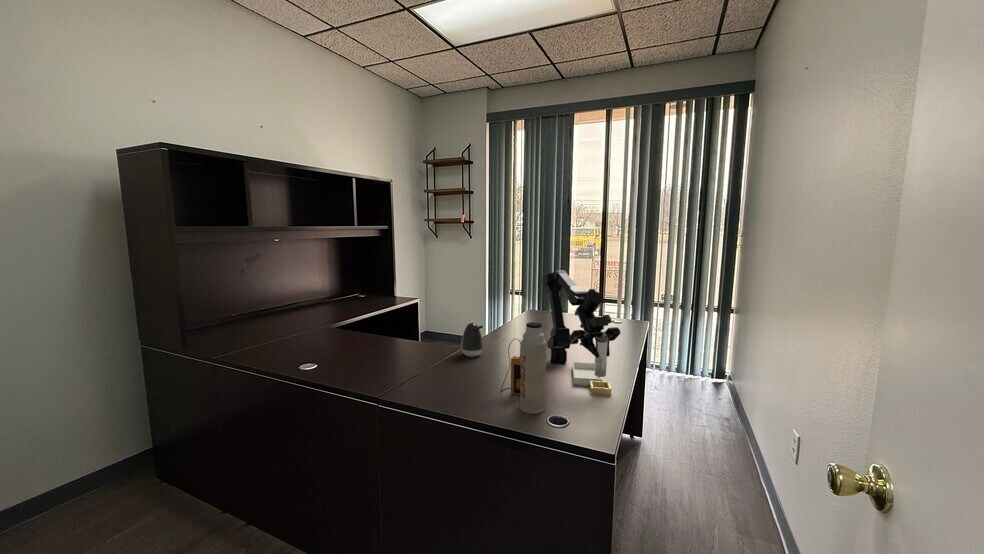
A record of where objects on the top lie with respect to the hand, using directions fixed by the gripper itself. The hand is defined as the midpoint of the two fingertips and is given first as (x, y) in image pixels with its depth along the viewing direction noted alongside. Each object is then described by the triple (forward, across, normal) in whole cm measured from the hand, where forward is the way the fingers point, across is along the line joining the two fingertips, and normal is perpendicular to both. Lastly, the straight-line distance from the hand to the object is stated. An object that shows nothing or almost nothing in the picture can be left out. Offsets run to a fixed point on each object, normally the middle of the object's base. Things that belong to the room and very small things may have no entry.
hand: (603, 356), depth 137 cm
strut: (+4, 0, +6) cm, 7 cm away
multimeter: (+2, -26, +17) cm, 31 cm away
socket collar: (+8, 0, +10) cm, 13 cm away
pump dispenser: (-29, -33, +48) cm, 65 cm away
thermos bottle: (+12, -28, +6) cm, 32 cm away
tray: (-1, +2, +20) cm, 20 cm away
